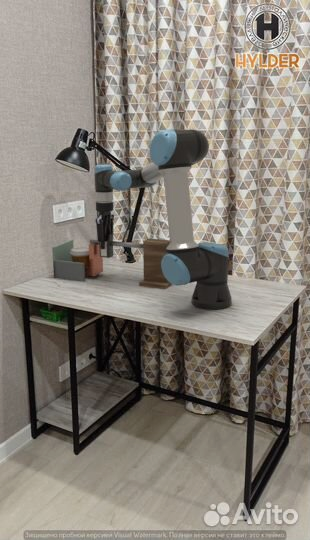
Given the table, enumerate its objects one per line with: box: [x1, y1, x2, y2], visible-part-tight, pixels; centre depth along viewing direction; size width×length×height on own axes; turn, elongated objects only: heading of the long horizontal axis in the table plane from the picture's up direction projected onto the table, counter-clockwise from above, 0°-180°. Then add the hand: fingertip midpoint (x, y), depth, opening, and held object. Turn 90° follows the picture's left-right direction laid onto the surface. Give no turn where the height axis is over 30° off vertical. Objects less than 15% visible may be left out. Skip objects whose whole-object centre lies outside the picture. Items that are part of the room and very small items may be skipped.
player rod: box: [85, 233, 143, 277], centre depth 231 cm, size 8×30×18 cm, turn 69°
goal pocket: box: [51, 239, 86, 282], centre depth 240 cm, size 16×15×14 cm
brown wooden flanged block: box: [138, 238, 173, 290], centre depth 225 cm, size 12×12×19 cm
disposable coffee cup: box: [70, 246, 90, 278], centre depth 239 cm, size 10×10×12 cm
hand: (106, 254), depth 233 cm, fingers closed on player rod, 3 cm apart
